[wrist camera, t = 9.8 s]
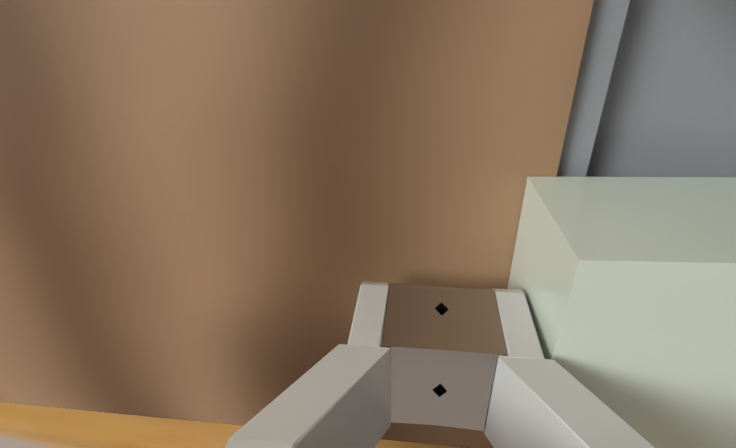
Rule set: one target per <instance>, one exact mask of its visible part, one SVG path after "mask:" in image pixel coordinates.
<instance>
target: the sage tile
mask: <svg viewBox="0 0 736 448" xmlns="http://www.w3.org/2000/svg"><path fill="white" fill-rule="evenodd" d="M507 289H521V290H522V291H523V292H524V293H525V297H526V300H527V303H528V306H529V309H530V313H531V316H532V319H533V322H534V325H535V329H536V332H537V335H538V338H539V342H540V345H541V348H542V351H543V354H544V358H545V359H551V360H555V361H556V362H557V363H559V364H560V365H561V366H562V367H563V368H564V369H565V370H567V371H568V372H569V373H570V374H571V375H572V376H573V377H575V378H576V379H577V380H578V381H579V382H580V383H581V384H583V385H584V386H585V387H586V388H587V389H588V390H589V391H591V392H592V393H593V394H594V395H595V396H596V397H597V398H599V399H600V400H601V401H602V402H603V403H604V404H605V405H607V406H608V407H609V408H610V409H611V410H612V411H613V412H615V413H616V414H617V415H618V416H619V417H620V418H621V419H623V420H624V421H625V422H626V423H627V424H628V425H629V426H631V427H632V428H633V429H634V430H635V431H636V432H637V433H639V434H640V435H641V436H642V437H643V438H644V439H645V440H647V441H648V442H649V443H650V444H651V445H652V446H653V447H655V448H736V177H527V182H526V187H525V193H524V198H523V204H522V210H521V215H520V221H519V226H518V232H517V237H516V243H515V249H514V254H513V260H512V265H511V271H510V277H509V282H508V288H507Z"/></svg>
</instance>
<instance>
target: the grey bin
mask: <svg viewBox="0 0 736 448" xmlns="http://www.w3.org/2000/svg"><path fill="white" fill-rule="evenodd" d="M556 177H736V0H594V2H593V6H592V11H591V16H590V21H589V25H588V30H587V35H586V39H585V44H584V49H583V54H582V58H581V63H580V68H579V72H578V77H577V82H576V87H575V91H574V96H573V101H572V105H571V110H570V115H569V120H568V124H567V129H566V134H565V138H564V143H563V148H562V153H561V157H560V162H559V167H558V171H557V176H556Z"/></svg>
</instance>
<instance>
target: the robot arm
mask: <svg viewBox="0 0 736 448" xmlns="http://www.w3.org/2000/svg"><path fill="white" fill-rule="evenodd" d="M391 422H395V423H410V424H425V425H438V426H446V427H455V428H463V429H471V430H479V431H485V432H484V434H485V435H486V437H487V438H488V440H489V442H490V443H491V445H492V446H493V448H655V447H653V446H652V445H651V444H650V443H649V442H648V441H647V440H645V439H644V438H643V437H642V436H641V435H640V434H639V433H637V432H636V431H635V430H634V429H633V428H632V427H631V426H629V425H628V424H627V423H626V422H625V421H624V420H623V419H621V418H620V417H619V416H618V415H617V414H616V413H615V412H613V411H612V410H611V409H610V408H609V407H608V406H607V405H605V404H604V403H603V402H602V401H601V400H600V399H599V398H597V397H596V396H595V395H594V394H593V393H592V392H591V391H589V390H588V389H587V388H586V387H585V386H584V385H583V384H581V383H580V382H579V381H578V380H577V379H576V378H575V377H573V376H572V375H571V374H570V373H569V372H568V371H567V370H565V369H564V368H563V367H562V366H561V365H560V364H559V363H557V362H556V361H555V360H551V359H545V358H544V354H543V351H542V348H541V345H540V342H539V338H538V335H537V332H536V329H535V325H534V322H533V319H532V316H531V313H530V309H529V306H528V303H527V300H526V297H525V293H524V292H523V291H522V290H521V289H475V288H455V287H441V286H428V285H415V284H402V283H390V284H389V283H385V282H370V281H363V282H362V284H361V286H360V290H359V294H358V299H357V303H356V308H355V312H354V317H353V321H352V326H351V330H350V335H349V339H348V344H347V345H346V344H339V345H337V346H336V347H335V348H334V349H333V350H332V351H330V352H329V353H328V354H327V355H326V356H324V357H323V358H322V359H321V360H320V361H319V362H317V363H316V364H315V365H314V366H313V367H312V368H310V369H309V370H308V371H307V372H306V373H305V374H303V375H302V376H301V377H300V378H299V379H298V380H296V381H295V382H294V383H293V384H292V385H291V386H289V387H288V388H287V389H286V390H285V391H284V392H282V393H281V394H280V395H279V396H278V397H277V398H275V399H274V400H273V401H272V402H271V403H270V404H268V405H267V406H266V407H265V408H264V409H263V410H261V411H260V412H259V413H258V414H257V415H256V416H254V417H253V418H252V419H251V420H250V421H249V422H247V423H246V424H245V425H244V426H243V427H242V428H240V429H239V430H238V431H237V432H236V433H235V434H233V435H232V436H231V437H230V438H229V440H228V442H227V444H226V447H225V448H375V446H376V445H377V444H378V442H379V441H380V439H381V438H382V437H383V435H384V434H385V432H386V431H387V430H388V428H389V427H390V425H391Z"/></svg>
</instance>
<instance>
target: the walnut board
mask: <svg viewBox="0 0 736 448" xmlns="http://www.w3.org/2000/svg"><path fill="white" fill-rule="evenodd" d="M593 2H594V0H0V402H5V403H15V404H25V405H36V406H46V407H56V408H66V409H77V410H87V411H97V412H108V413H118V414H128V415H139V416H149V417H159V418H170V419H180V420H190V421H200V422H211V423H221V424H231V425H242V426H244V425H245V424H246V423H247V422H249V421H250V420H251V419H252V418H253V417H254V416H256V415H257V414H258V413H259V412H260V411H261V410H263V409H264V408H265V407H266V406H267V405H268V404H270V403H271V402H272V401H273V400H274V399H275V398H277V397H278V396H279V395H280V394H281V393H282V392H284V391H285V390H286V389H287V388H288V387H289V386H291V385H292V384H293V383H294V382H295V381H296V380H298V379H299V378H300V377H301V376H302V375H303V374H305V373H306V372H307V371H308V370H309V369H310V368H312V367H313V366H314V365H315V364H316V363H317V362H319V361H320V360H321V359H322V358H323V357H324V356H326V355H327V354H328V353H329V352H330V351H332V350H333V349H334V348H335V347H336V346H337V345H339V344H346V345H347V344H348V339H349V335H350V330H351V326H352V321H353V317H354V312H355V308H356V303H357V299H358V294H359V290H360V286H361V284H362V282H363V281H370V282H385V283H389V284H390V283H402V284H415V285H428V286H441V287H455V288H475V289H507V288H508V282H509V277H510V271H511V265H512V260H513V254H514V249H515V243H516V237H517V232H518V226H519V221H520V215H521V210H522V204H523V198H524V193H525V187H526V182H527V177H556V176H557V171H558V167H559V162H560V157H561V153H562V148H563V143H564V138H565V134H566V129H567V124H568V120H569V115H570V110H571V105H572V101H573V96H574V91H575V87H576V82H577V77H578V72H579V68H580V63H581V58H582V54H583V49H584V44H585V39H586V35H587V30H588V25H589V21H590V16H591V11H592V6H593ZM484 432H485V431H479V430H471V429H463V428H455V427H446V426H438V425H425V424H410V423H395V422H391V425H390V427H389V428H388V430H387V431H386V432H385V434H384V435H383V437H382V438H381V439H386V440H396V441H407V442H417V443H427V444H438V445H448V446H458V447H468V448H493V446H492V445H491V443H490V442H489V440H488V438H487V437H486V435H485V434H484Z"/></svg>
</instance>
